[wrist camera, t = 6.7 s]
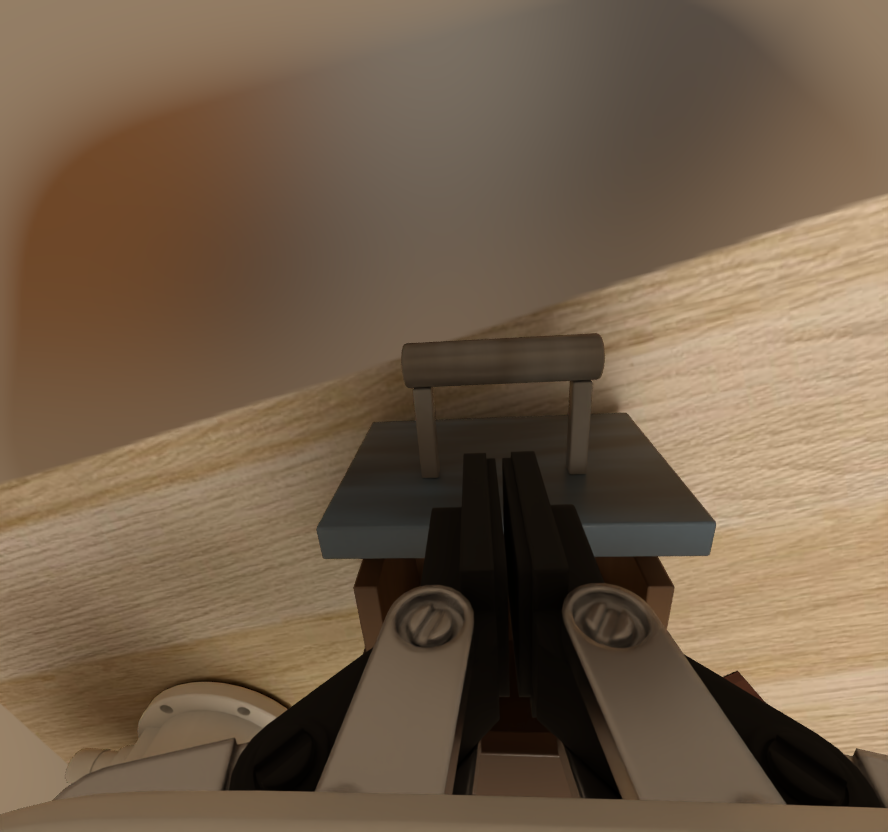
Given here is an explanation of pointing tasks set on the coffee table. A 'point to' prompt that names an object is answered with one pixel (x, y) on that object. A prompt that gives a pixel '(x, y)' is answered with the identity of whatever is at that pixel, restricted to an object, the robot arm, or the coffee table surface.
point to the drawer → (561, 465)
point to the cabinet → (521, 765)
